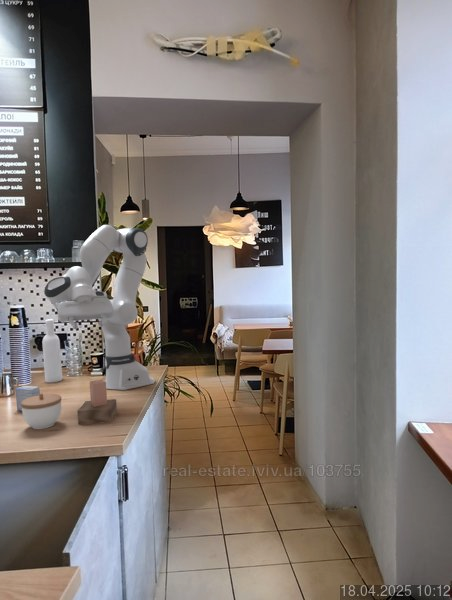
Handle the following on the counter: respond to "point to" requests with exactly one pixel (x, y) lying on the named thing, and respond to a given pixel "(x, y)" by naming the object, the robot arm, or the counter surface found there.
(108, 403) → the walnut block
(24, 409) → the lidded bowl
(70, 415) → the counter surface
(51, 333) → the bottle
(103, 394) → the terracotta block
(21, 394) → the medicine box
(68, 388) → the counter surface
